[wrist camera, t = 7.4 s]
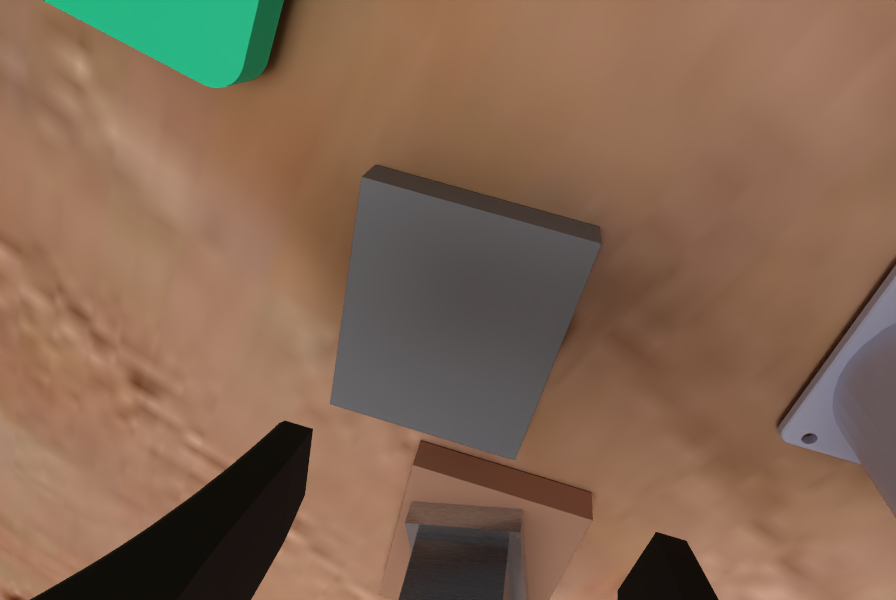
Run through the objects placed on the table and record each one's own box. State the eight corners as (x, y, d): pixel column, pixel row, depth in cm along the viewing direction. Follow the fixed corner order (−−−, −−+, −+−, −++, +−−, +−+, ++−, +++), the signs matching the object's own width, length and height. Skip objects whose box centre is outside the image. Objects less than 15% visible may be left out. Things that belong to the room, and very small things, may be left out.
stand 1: (599, 226, 18) (601, 243, 17) (517, 435, 24) (514, 460, 22) (375, 164, 19) (361, 176, 18) (342, 382, 24) (330, 404, 23)
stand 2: (591, 492, 24) (592, 520, 23) (527, 613, 29) (525, 642, 28) (420, 440, 25) (412, 465, 24) (386, 568, 30) (378, 594, 29)
